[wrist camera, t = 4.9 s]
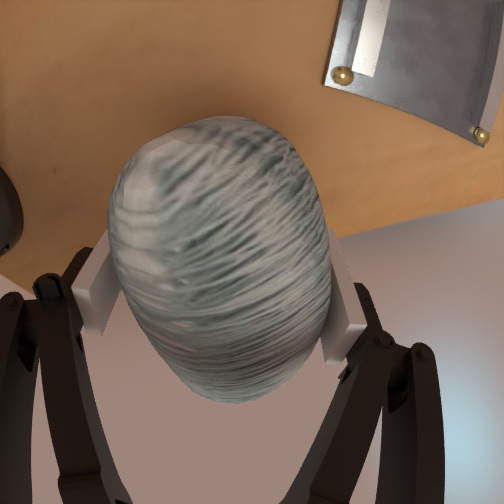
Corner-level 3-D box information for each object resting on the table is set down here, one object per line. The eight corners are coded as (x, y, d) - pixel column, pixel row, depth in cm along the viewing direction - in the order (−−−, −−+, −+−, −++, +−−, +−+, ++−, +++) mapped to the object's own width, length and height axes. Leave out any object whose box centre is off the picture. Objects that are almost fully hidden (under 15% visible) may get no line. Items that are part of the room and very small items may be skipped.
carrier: (321, 83, 24) (329, 87, 21) (356, -82, 12) (365, -92, 10) (477, 144, 26) (492, 153, 23) (508, 5, 14) (525, 6, 11)
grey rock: (330, 355, 18) (263, 484, 10) (206, 314, 22) (108, 396, 14) (368, 129, 13) (311, 103, 5) (203, 120, 17) (51, 128, 9)
